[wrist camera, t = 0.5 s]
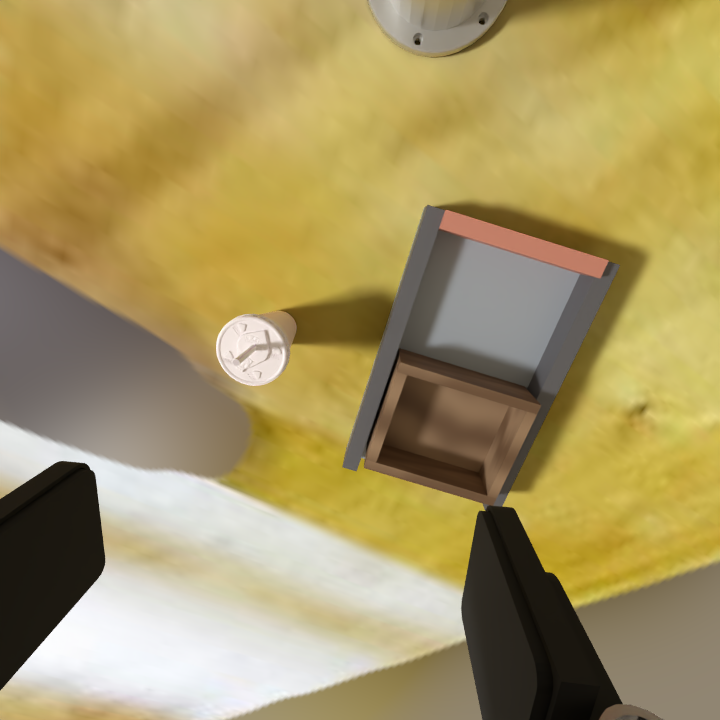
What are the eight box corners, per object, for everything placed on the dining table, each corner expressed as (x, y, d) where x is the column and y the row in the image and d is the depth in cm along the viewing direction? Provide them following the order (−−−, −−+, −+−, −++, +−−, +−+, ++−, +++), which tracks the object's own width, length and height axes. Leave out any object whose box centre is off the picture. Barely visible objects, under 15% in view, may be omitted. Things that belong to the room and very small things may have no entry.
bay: (424, 207, 40) (428, 204, 35) (598, 261, 40) (626, 265, 35) (346, 448, 48) (341, 472, 43) (489, 491, 48) (500, 519, 44)
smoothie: (320, 321, 44) (289, 359, 30) (289, 366, 45) (247, 421, 32) (270, 286, 43) (216, 310, 30) (240, 333, 45) (177, 376, 31)
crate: (399, 348, 43) (400, 362, 38) (524, 386, 43) (541, 405, 38) (366, 443, 46) (364, 467, 42) (482, 478, 47) (492, 506, 42)
